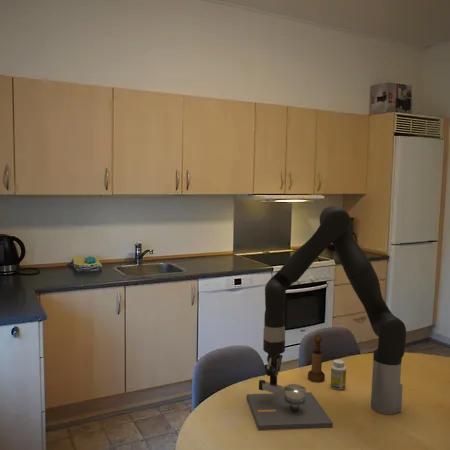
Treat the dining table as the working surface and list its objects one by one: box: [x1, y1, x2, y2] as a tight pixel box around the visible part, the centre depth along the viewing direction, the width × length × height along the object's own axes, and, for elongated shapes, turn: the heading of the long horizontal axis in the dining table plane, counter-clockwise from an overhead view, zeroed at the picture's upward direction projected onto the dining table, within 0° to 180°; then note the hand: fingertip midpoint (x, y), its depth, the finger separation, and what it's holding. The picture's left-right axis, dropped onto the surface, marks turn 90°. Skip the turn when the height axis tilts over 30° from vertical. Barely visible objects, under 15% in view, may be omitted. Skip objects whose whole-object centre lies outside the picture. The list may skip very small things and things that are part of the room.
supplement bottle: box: [330, 359, 347, 391], centre depth 174 cm, size 6×6×10 cm
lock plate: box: [246, 391, 334, 431], centre depth 153 cm, size 24×22×2 cm
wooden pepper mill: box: [307, 334, 326, 383], centre depth 181 cm, size 7×6×18 cm
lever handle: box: [258, 379, 307, 412], centre depth 154 cm, size 17×7×7 cm, turn 58°
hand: (273, 385), depth 158 cm, fingers closed
